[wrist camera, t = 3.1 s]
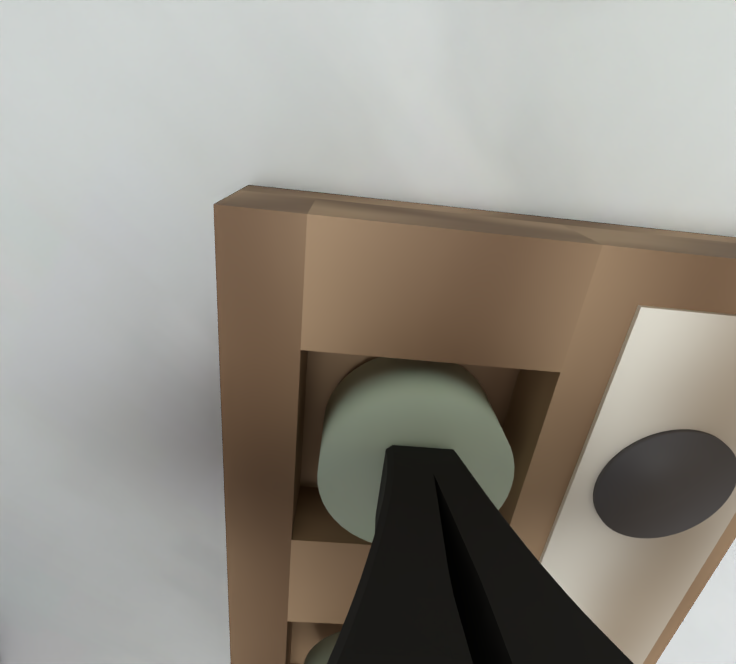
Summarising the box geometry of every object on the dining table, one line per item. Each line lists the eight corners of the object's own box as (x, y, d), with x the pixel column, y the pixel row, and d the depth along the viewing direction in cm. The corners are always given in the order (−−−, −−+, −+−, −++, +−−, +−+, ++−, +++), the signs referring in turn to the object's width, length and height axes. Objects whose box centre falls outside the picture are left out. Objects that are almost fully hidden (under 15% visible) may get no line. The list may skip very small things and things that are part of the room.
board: (251, 778, 20) (236, 869, 18) (248, 184, 9) (209, 206, 7) (509, 786, 21) (528, 874, 19) (780, 242, 10) (915, 280, 8)
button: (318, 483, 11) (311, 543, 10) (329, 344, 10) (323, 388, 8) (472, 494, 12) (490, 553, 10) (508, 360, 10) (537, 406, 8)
